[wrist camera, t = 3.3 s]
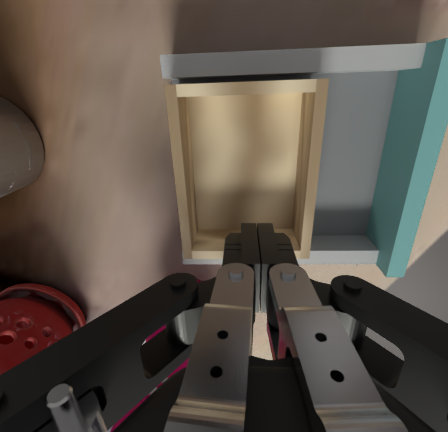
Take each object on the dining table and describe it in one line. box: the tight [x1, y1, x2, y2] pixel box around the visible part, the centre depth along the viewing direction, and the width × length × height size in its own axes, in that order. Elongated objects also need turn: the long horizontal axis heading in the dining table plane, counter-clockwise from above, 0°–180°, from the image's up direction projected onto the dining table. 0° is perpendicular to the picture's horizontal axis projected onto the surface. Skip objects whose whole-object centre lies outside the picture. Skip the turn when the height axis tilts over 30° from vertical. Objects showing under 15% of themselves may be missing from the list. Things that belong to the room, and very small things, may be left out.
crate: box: [164, 78, 329, 259], centre depth 24 cm, size 11×14×5 cm
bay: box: [160, 38, 448, 277], centre depth 24 cm, size 20×18×6 cm
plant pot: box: [0, 283, 86, 375], centre depth 31 cm, size 13×13×12 cm
